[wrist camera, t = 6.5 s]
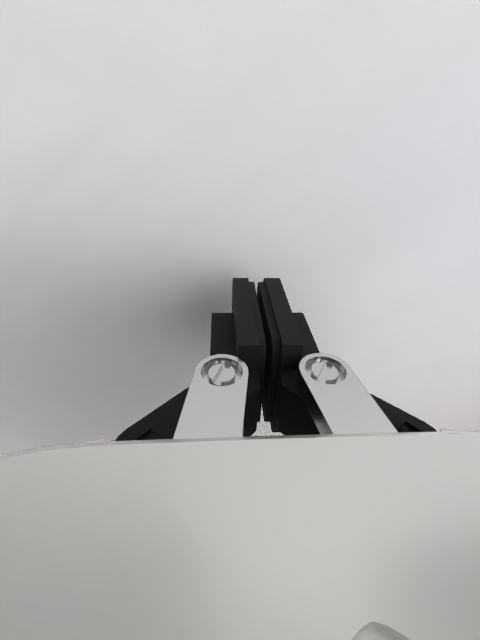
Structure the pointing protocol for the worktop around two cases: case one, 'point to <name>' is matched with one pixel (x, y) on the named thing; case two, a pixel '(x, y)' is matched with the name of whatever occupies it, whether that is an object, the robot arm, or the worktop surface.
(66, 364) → the worktop surface
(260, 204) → the worktop surface
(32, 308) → the worktop surface
